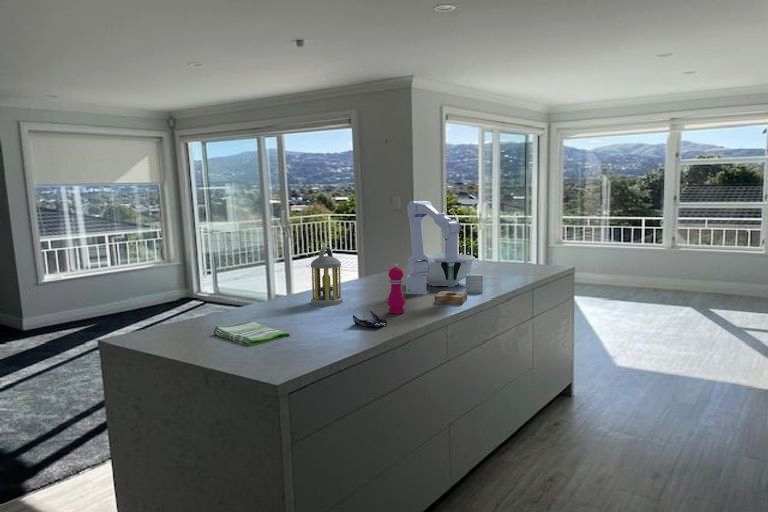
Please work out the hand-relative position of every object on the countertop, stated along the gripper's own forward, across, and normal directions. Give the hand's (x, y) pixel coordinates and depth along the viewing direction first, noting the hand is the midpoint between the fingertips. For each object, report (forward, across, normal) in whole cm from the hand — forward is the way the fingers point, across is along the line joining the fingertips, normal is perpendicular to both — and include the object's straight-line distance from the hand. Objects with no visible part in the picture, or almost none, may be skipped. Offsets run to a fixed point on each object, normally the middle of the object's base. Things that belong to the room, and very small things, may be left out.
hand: (451, 279), depth 242 cm
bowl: (+10, -13, +42) cm, 45 cm away
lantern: (+10, -53, -15) cm, 56 cm away
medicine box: (+10, +6, +24) cm, 27 cm away
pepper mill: (+10, -17, -26) cm, 33 cm away
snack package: (+10, -20, -49) cm, 54 cm away
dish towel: (+11, -55, -73) cm, 92 cm away
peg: (+3, 0, 0) cm, 3 cm away
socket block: (+10, 0, 0) cm, 10 cm away
